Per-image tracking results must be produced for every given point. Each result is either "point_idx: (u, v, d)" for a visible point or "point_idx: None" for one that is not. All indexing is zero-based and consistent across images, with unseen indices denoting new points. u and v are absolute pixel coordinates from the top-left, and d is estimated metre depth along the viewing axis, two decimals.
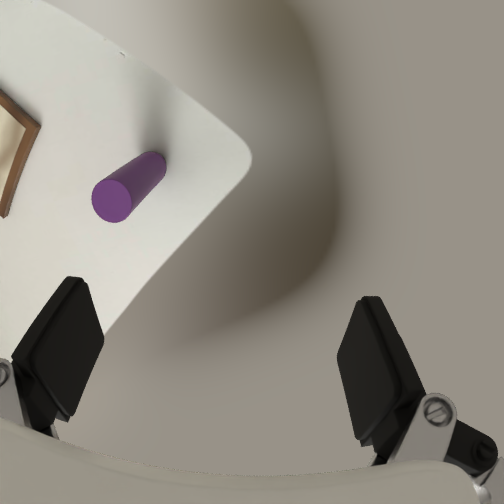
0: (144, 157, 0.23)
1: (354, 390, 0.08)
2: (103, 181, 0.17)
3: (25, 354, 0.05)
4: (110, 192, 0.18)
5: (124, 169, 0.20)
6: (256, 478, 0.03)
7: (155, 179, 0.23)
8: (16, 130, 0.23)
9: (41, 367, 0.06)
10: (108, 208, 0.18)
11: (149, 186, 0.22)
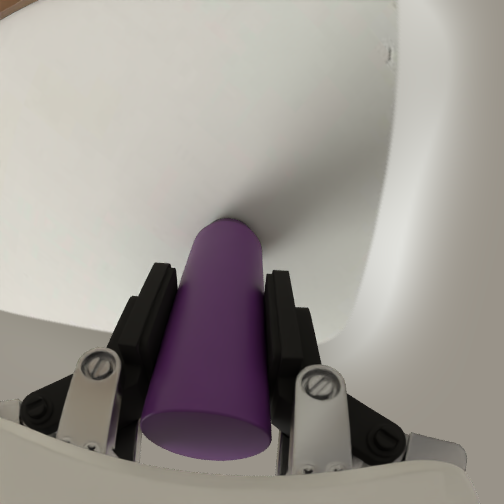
0: (260, 269, 0.11)
1: None
2: (242, 422, 0.05)
3: (136, 339, 0.07)
4: (228, 437, 0.06)
5: (260, 348, 0.08)
6: (256, 478, 0.03)
7: None
8: None
9: (149, 352, 0.07)
10: (182, 440, 0.06)
11: None
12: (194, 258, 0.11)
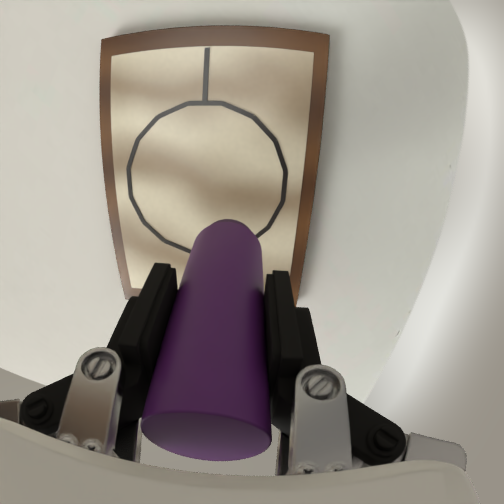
0: (260, 270, 0.11)
1: None
2: (242, 423, 0.05)
3: (136, 339, 0.07)
4: (228, 438, 0.06)
5: (261, 349, 0.08)
6: (256, 478, 0.03)
7: None
8: None
9: (149, 352, 0.07)
10: (183, 440, 0.06)
11: None
12: (194, 259, 0.11)
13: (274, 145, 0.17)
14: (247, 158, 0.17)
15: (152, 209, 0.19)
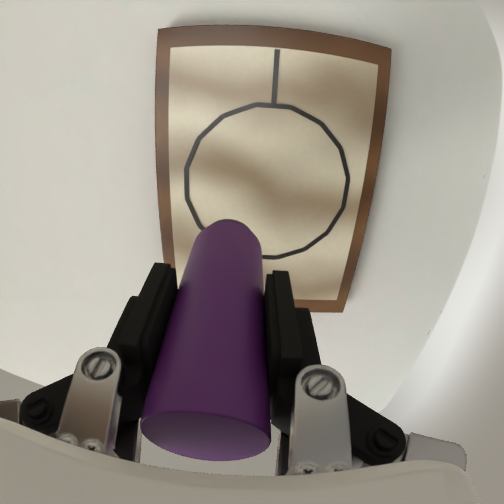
0: (259, 270, 0.11)
1: None
2: (241, 423, 0.05)
3: (136, 339, 0.07)
4: (227, 438, 0.06)
5: (260, 349, 0.08)
6: (256, 478, 0.03)
7: None
8: (327, 285, 0.22)
9: (149, 352, 0.07)
10: (182, 440, 0.06)
11: None
12: (194, 259, 0.11)
13: (339, 152, 0.17)
14: (313, 164, 0.17)
15: (210, 212, 0.19)
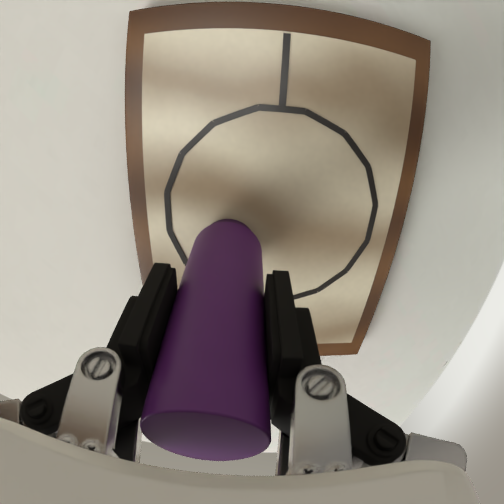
0: (260, 270, 0.11)
1: None
2: (241, 422, 0.05)
3: (136, 339, 0.07)
4: (227, 438, 0.06)
5: (260, 349, 0.08)
6: (256, 478, 0.03)
7: None
8: (342, 328, 0.18)
9: (149, 352, 0.07)
10: (182, 440, 0.06)
11: None
12: (194, 259, 0.11)
13: (366, 172, 0.13)
14: (332, 187, 0.13)
15: None
